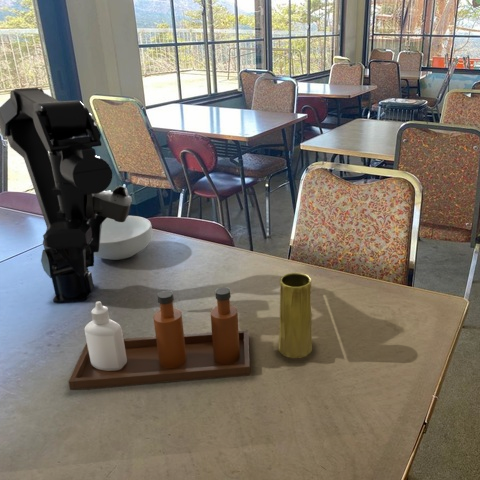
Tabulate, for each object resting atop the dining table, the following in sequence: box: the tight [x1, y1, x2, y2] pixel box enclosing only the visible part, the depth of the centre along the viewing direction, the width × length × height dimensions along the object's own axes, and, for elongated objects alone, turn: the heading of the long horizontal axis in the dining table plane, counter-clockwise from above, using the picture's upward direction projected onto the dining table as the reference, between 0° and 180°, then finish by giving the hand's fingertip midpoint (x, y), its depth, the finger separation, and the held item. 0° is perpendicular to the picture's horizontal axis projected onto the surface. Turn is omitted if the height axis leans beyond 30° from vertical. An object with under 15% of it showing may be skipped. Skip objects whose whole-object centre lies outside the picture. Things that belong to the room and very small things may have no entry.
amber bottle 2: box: [210, 286, 240, 364], centre depth 80 cm, size 4×4×13 cm
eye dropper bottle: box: [84, 300, 127, 371], centre depth 77 cm, size 4×6×12 cm
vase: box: [278, 272, 313, 359], centre depth 83 cm, size 6×6×14 cm
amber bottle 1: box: [152, 290, 186, 369], centre depth 79 cm, size 4×4×13 cm
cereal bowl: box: [94, 215, 153, 261], centre depth 119 cm, size 17×17×7 cm
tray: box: [68, 329, 251, 391], centre depth 81 cm, size 28×11×2 cm, turn 99°
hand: (89, 262), depth 87 cm, fingers open, 9 cm apart
